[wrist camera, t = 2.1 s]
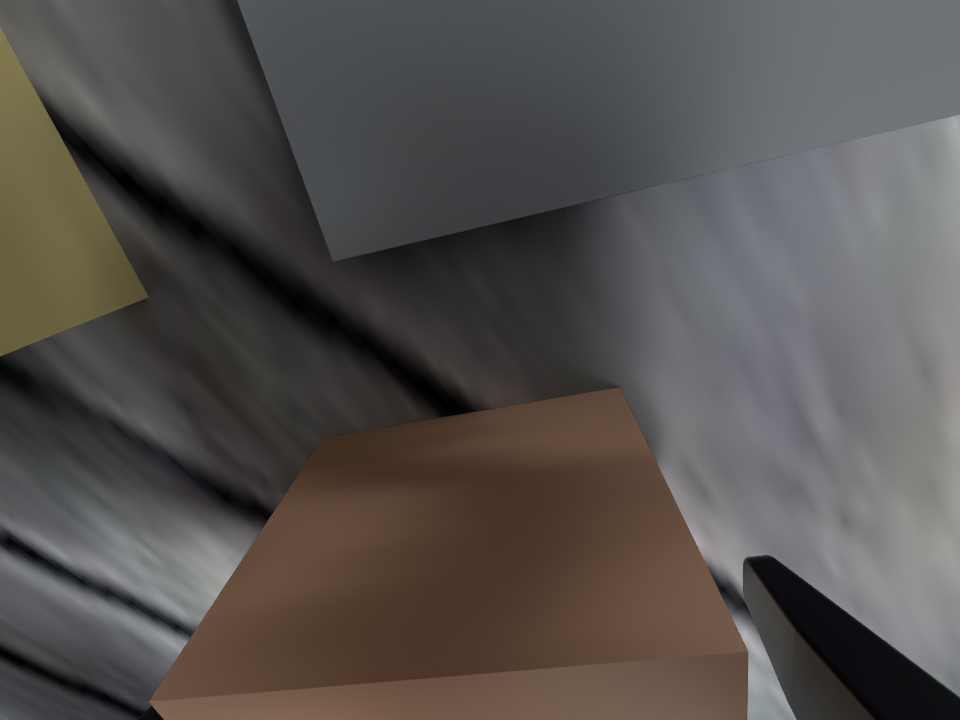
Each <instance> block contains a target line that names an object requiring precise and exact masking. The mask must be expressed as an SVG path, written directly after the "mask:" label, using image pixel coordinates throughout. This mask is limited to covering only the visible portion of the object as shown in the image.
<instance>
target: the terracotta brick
mask: <svg viewBox="0 0 960 720" xmlns="http://www.w3.org/2000/svg"><path fill="white" fill-rule="evenodd" d="M149 703H150V704H151V705H152V706H153V707H154V709H155V710H156V711H157V712H158V713H159V714H160V715H161V717H162V718H163V719H164V720H747V703H748V650H747V648H746V646H745V644H744V642H743V640H742V638H741V636H740V634H739V631H738V629H737V627H736V625H735V623H734V621H733V619H732V617H731V615H730V613H729V611H728V609H727V607H726V605H725V603H724V601H723V598H722V596H721V594H720V592H719V590H718V588H717V586H716V584H715V582H714V580H713V578H712V576H711V574H710V572H709V570H708V568H707V566H706V563H705V561H704V559H703V557H702V555H701V553H700V551H699V549H698V547H697V545H696V543H695V541H694V539H693V537H692V535H691V533H690V530H689V528H688V526H687V524H686V522H685V520H684V518H683V516H682V514H681V512H680V510H679V508H678V506H677V504H676V502H675V500H674V497H673V495H672V493H671V491H670V489H669V487H668V485H667V483H666V481H665V479H664V477H663V475H662V473H661V471H660V469H659V467H658V465H657V462H656V460H655V458H654V456H653V454H652V452H651V450H650V448H649V446H648V444H647V442H646V440H645V438H644V436H643V434H642V432H641V429H640V427H639V425H638V423H637V421H636V419H635V417H634V415H633V413H632V411H631V409H630V407H629V405H628V403H627V401H626V399H625V397H624V394H623V392H622V390H621V388H620V387H617V388H611V389H606V390H600V391H594V392H588V393H582V394H577V395H571V396H565V397H559V398H553V399H547V400H542V401H536V402H530V403H524V404H518V405H512V406H507V407H501V408H495V409H489V410H483V411H478V412H472V413H466V414H460V415H454V416H448V417H443V418H437V419H431V420H425V421H419V422H413V423H408V424H402V425H396V426H390V427H384V428H379V429H373V430H367V431H361V432H355V433H349V434H344V435H338V436H332V437H326V438H322V439H321V441H320V442H319V444H318V445H317V447H316V448H315V450H314V452H313V453H312V455H311V456H310V458H309V459H308V461H307V462H306V464H305V465H304V467H303V468H302V470H301V471H300V473H299V474H298V476H297V477H296V479H295V480H294V482H293V483H292V485H291V486H290V488H289V489H288V491H287V492H286V494H285V495H284V497H283V499H282V500H281V502H280V503H279V505H278V506H277V508H276V509H275V511H274V512H273V514H272V515H271V517H270V518H269V520H268V521H267V523H266V524H265V526H264V527H263V529H262V530H261V532H260V533H259V535H258V536H257V538H256V539H255V541H254V542H253V544H252V546H251V547H250V549H249V550H248V552H247V553H246V555H245V556H244V558H243V559H242V561H241V562H240V564H239V565H238V567H237V568H236V570H235V571H234V573H233V574H232V576H231V577H230V579H229V580H228V582H227V583H226V585H225V586H224V588H223V589H222V591H221V593H220V594H219V596H218V597H217V599H216V600H215V602H214V603H213V605H212V606H211V608H210V609H209V611H208V612H207V614H206V615H205V617H204V618H203V620H202V621H201V623H200V624H199V626H198V627H197V629H196V630H195V632H194V633H193V635H192V636H191V638H190V640H189V641H188V643H187V644H186V646H185V647H184V649H183V650H182V652H181V653H180V655H179V656H178V658H177V659H176V661H175V662H174V664H173V665H172V667H171V668H170V670H169V671H168V673H167V674H166V676H165V677H164V679H163V680H162V682H161V683H160V685H159V687H158V688H157V690H156V691H155V693H154V694H153V696H152V697H151V699H150V700H149Z"/></svg>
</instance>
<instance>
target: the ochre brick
mask: <svg viewBox="0 0 960 720" xmlns="http://www.w3.org/2000/svg"><path fill="white" fill-rule="evenodd" d="M146 298H149V296H148V295H147V293H146V291H145V289H144V287H143V285H142V284H141V282H140V280H139V278H138V276H137V275H136V273H135V271H134V269H133V267H132V265H131V264H130V262H129V260H128V258H127V256H126V255H125V253H124V251H123V249H122V247H121V246H120V244H119V242H118V240H117V238H116V236H115V235H114V233H113V231H112V229H111V227H110V226H109V224H108V222H107V220H106V218H105V216H104V215H103V213H102V211H101V209H100V207H99V206H98V204H97V202H96V200H95V198H94V196H93V195H92V193H91V191H90V189H89V187H88V186H87V184H86V182H85V180H84V178H83V176H82V175H81V173H80V171H79V169H78V167H77V166H76V164H75V162H74V160H73V158H72V156H71V155H70V153H69V151H68V149H67V147H66V146H65V144H64V142H63V140H62V138H61V136H60V135H59V133H58V131H57V129H56V127H55V126H54V124H53V122H52V120H51V118H50V116H49V115H48V113H47V111H46V109H45V107H44V106H43V104H42V102H41V100H40V98H39V97H38V95H37V93H36V91H35V89H34V87H33V86H32V84H31V82H30V80H29V78H28V77H27V75H26V73H25V71H24V69H23V67H22V66H21V64H20V62H19V60H18V58H17V57H16V55H15V53H14V51H13V49H12V47H11V46H10V44H9V42H8V40H7V38H6V37H5V35H4V33H3V31H2V29H1V27H0V356H2V355H5V354H7V353H10V352H12V351H15V350H17V349H20V348H22V347H25V346H27V345H30V344H32V343H35V342H38V341H40V340H43V339H45V338H48V337H50V336H53V335H55V334H58V333H60V332H63V331H65V330H68V329H70V328H73V327H75V326H78V325H80V324H83V323H85V322H88V321H91V320H93V319H96V318H98V317H101V316H103V315H106V314H108V313H111V312H113V311H116V310H118V309H121V308H123V307H126V306H128V305H131V304H133V303H136V302H138V301H141V300H143V299H146Z"/></svg>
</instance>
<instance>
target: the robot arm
mask: <svg viewBox="0 0 960 720" xmlns="http://www.w3.org/2000/svg"><path fill="white" fill-rule="evenodd" d="M743 593H744V597H745V601H746V604H747V606H748V609H749V611H750V613H751V616H752V618H753V621H754V623H755V625H756V628H757V630H758V632H759V635H760V637H761V640H762V642H763V644H764V647H765V649H766V652H767V654H768V656H769V659H770V661H771V663H772V666H773V668H774V671H775V673H776V675H777V678H778V680H779V682H780V685H781V687H782V690H783V692H784V694H785V696H786V699H787V701H788V703H789V705H790V707H791V709H792V711H793V713H794V715H795V717H796V719H797V720H960V697H959V696H958V695H956V694H955V693H954V692H952V691H951V690H950V689H948V688H947V687H946V686H944V685H943V684H942V683H940V682H939V681H938V680H936V679H935V678H934V677H932V676H931V675H930V674H928V673H927V672H926V671H924V670H923V669H922V668H920V667H919V666H918V665H916V664H915V663H914V662H912V661H911V660H910V659H908V658H907V657H906V656H904V655H903V654H902V653H900V652H899V651H898V650H896V649H895V648H894V647H892V646H891V645H890V644H888V643H887V642H886V641H884V640H883V639H882V638H880V637H879V636H878V635H876V634H875V633H874V632H872V631H871V630H870V629H868V628H867V627H866V626H864V625H863V624H862V623H860V622H859V621H858V620H856V619H855V618H854V617H852V616H851V615H850V614H848V613H847V612H846V611H844V610H843V609H842V608H840V607H839V606H838V605H836V604H835V603H834V602H832V601H831V600H830V599H828V598H827V597H826V596H824V595H823V594H822V593H820V592H819V591H818V590H816V589H815V588H814V587H812V586H811V585H810V584H808V583H807V582H806V581H804V580H803V579H802V578H800V577H799V576H798V575H796V574H795V573H794V572H792V571H791V570H790V569H788V568H787V567H786V566H784V565H783V564H782V563H780V562H779V561H778V560H777V559H775V558H773V557H771V556H768V555H762V556H754V557H747V558H745V560H744V563H743ZM137 720H164V719H163V718H162V717H161V715H160V714H159V713H158V712H157V711H156V710H155V709H154V707H153V706H151V707H150V708H149V709H148V710H147V711H146V712H145V713H144V714H143V715H142V716H141V717H139V718H138V719H137Z"/></svg>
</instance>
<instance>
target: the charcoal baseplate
mask: <svg viewBox="0 0 960 720" xmlns="http://www.w3.org/2000/svg"><path fill="white" fill-rule="evenodd" d="M237 1H238V4H239V7H240V9H241V12H242V15H243V18H244V20H245V23H246V26H247V29H248V31H249V34H250V37H251V39H252V42H253V45H254V48H255V50H256V53H257V56H258V59H259V61H260V64H261V67H262V70H263V72H264V75H265V78H266V80H267V83H268V86H269V89H270V91H271V94H272V97H273V100H274V102H275V105H276V108H277V110H278V113H279V116H280V119H281V121H282V124H283V127H284V130H285V132H286V135H287V138H288V140H289V143H290V146H291V149H292V151H293V154H294V157H295V160H296V162H297V165H298V168H299V170H300V173H301V176H302V179H303V181H304V184H305V187H306V190H307V192H308V195H309V198H310V200H311V203H312V206H313V209H314V211H315V214H316V217H317V220H318V222H319V225H320V228H321V230H322V233H323V236H324V239H325V241H326V244H327V247H328V250H329V252H330V255H331V258H332V260H333V262H334V261H338V260H342V259H347V258H351V257H355V256H359V255H364V254H368V253H372V252H377V251H381V250H385V249H389V248H394V247H398V246H402V245H406V244H411V243H415V242H419V241H423V240H428V239H432V238H436V237H440V236H445V235H449V234H453V233H457V232H462V231H466V230H470V229H474V228H479V227H483V226H487V225H491V224H496V223H500V222H504V221H508V220H513V219H517V218H521V217H525V216H530V215H534V214H538V213H542V212H547V211H551V210H555V209H559V208H564V207H568V206H572V205H577V204H581V203H585V202H589V201H594V200H598V199H602V198H606V197H611V196H615V195H619V194H623V193H628V192H632V191H636V190H640V189H645V188H649V187H653V186H657V185H662V184H666V183H670V182H674V181H679V180H683V179H687V178H691V177H696V176H700V175H704V174H708V173H713V172H717V171H721V170H725V169H730V168H734V167H738V166H742V165H747V164H751V163H755V162H759V161H764V160H768V159H772V158H777V157H781V156H785V155H789V154H794V153H798V152H802V151H806V150H811V149H815V148H819V147H823V146H828V145H832V144H836V143H840V142H845V141H849V140H853V139H857V138H862V137H866V136H870V135H874V134H879V133H883V132H887V131H891V130H896V129H900V128H904V127H908V126H913V125H917V124H921V123H925V122H930V121H934V120H938V119H942V118H947V117H951V116H955V115H959V114H960V0H237Z"/></svg>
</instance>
